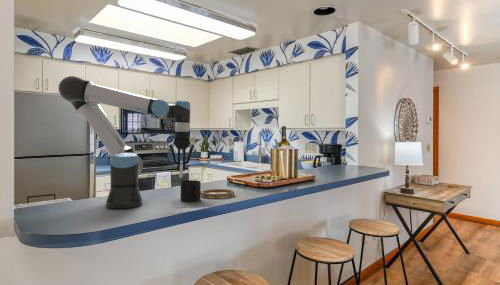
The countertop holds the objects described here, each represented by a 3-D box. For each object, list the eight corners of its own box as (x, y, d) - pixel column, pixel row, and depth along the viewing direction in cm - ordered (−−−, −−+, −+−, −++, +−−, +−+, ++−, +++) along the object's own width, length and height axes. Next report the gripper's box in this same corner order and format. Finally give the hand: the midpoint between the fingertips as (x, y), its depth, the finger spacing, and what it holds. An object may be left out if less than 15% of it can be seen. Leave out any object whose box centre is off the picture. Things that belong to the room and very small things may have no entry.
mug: (186, 203, 139) (186, 183, 139) (177, 199, 149) (177, 181, 149) (205, 201, 144) (206, 182, 144) (196, 197, 154) (196, 179, 154)
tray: (203, 199, 150) (203, 194, 150) (199, 193, 166) (199, 189, 166) (237, 197, 155) (237, 193, 155) (230, 192, 171) (230, 188, 171)
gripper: (169, 130, 152) (167, 178, 152) (195, 131, 156) (194, 178, 156) (168, 131, 160) (167, 176, 159) (194, 132, 163) (193, 176, 163)
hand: (180, 177), depth 158 cm, fingers closed
